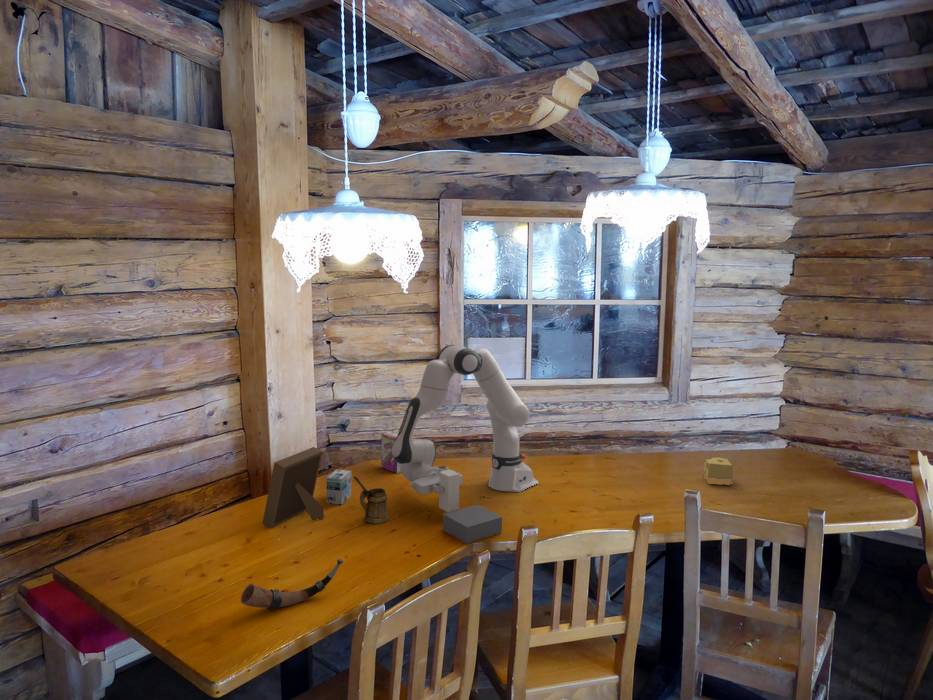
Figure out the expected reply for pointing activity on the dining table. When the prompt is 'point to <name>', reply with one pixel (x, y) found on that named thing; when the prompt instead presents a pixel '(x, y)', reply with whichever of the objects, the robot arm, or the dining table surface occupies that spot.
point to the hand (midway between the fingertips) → (450, 488)
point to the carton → (449, 490)
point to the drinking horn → (283, 593)
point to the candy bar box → (388, 453)
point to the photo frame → (293, 488)
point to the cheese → (718, 468)
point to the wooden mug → (374, 504)
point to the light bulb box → (338, 486)
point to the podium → (472, 523)
